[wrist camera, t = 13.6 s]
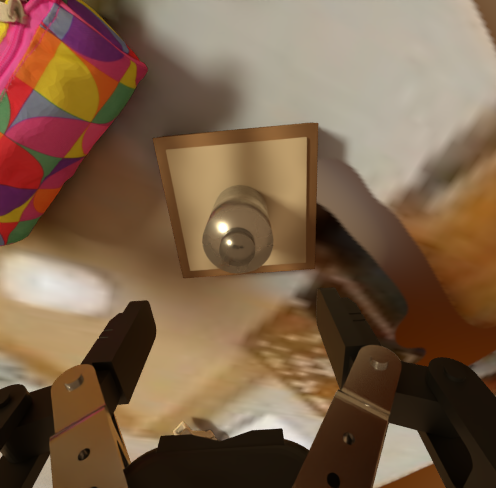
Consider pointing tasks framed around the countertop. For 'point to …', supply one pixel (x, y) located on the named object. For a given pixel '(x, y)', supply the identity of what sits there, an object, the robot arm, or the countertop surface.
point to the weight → (238, 231)
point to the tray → (249, 174)
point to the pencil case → (54, 100)
